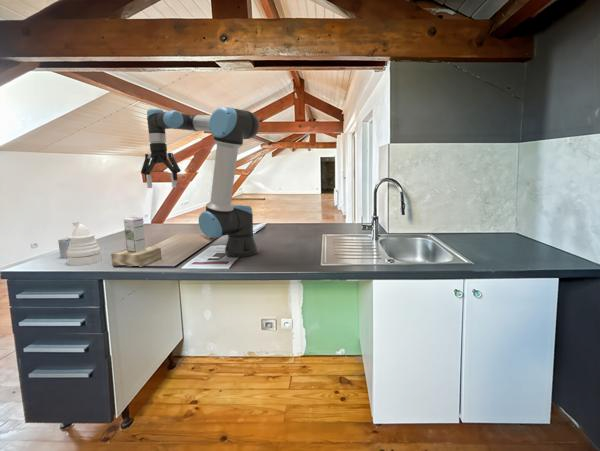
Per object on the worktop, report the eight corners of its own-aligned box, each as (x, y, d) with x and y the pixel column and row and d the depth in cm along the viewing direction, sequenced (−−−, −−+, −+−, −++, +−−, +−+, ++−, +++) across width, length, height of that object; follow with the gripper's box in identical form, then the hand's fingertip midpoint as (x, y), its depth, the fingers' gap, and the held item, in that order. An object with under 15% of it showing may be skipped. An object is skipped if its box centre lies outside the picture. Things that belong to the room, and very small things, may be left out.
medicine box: (68, 258, 164) (66, 239, 163) (60, 258, 165) (57, 239, 164) (81, 254, 172) (79, 236, 170) (73, 253, 173) (71, 236, 171)
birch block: (161, 258, 161) (160, 247, 160) (140, 267, 148) (139, 255, 147) (135, 257, 164) (134, 246, 164) (112, 265, 151) (111, 253, 150)
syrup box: (146, 249, 157) (143, 217, 154) (135, 252, 152) (132, 218, 149) (137, 248, 159) (134, 216, 157) (126, 251, 154) (122, 218, 152)
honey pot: (66, 267, 150) (61, 224, 147) (69, 260, 161) (64, 220, 158) (101, 262, 155) (96, 222, 152) (102, 256, 167) (97, 218, 164)
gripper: (185, 142, 171) (189, 186, 174) (140, 145, 177) (144, 187, 180) (176, 141, 164) (180, 187, 167) (130, 143, 170) (134, 188, 173)
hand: (162, 187), depth 173 cm, fingers open, 13 cm apart
